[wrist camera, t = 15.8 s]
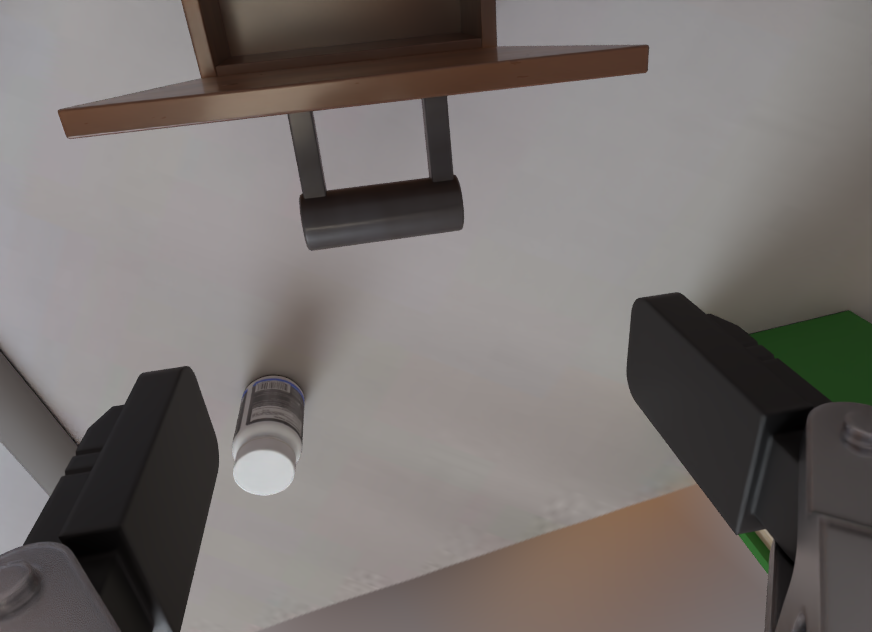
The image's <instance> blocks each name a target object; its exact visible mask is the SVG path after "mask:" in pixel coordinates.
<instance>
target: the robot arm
mask: <svg viewBox="0 0 872 632" xmlns="http://www.w3.org/2000/svg"><path fill="white" fill-rule="evenodd" d="M627 380H628V385H629V389H630V392H631V394H632V396H633V398H634V400H635V402H636V403H637V404H638V406H639V407H640V408H641V410H642V411H643V412H644V414H645V415H646V416H647V418H648V419H649V420H650V422H651V423H652V424H653V426H654V427H655V428H656V430H657V431H658V432H659V433H660V435H661V436H662V437H663V439H664V440H665V441H666V443H667V444H668V445H669V447H670V448H671V449H672V451H673V452H674V453H675V455H676V456H677V457H678V459H679V460H680V461H681V463H682V464H683V465H684V467H685V468H686V469H687V471H688V472H689V473H690V475H691V476H692V477H693V479H694V480H695V481H696V483H697V484H698V485H699V486H700V488H701V489H702V490H703V492H704V493H705V494H706V496H707V497H708V498H709V500H710V501H711V502H712V504H713V505H714V506H715V508H716V509H717V510H718V512H719V513H720V514H721V516H722V517H723V518H724V520H725V521H726V522H727V524H728V525H729V526H730V528H731V529H732V530H733V531H734V533H735V534H736V535H739V534H744V533H749V532H754V531H759V530H764V529H766V530H767V531H768V532H769V534H770V535H771V536H772V537H773V542H772V546H771V550H770V554H769V569H768V586H767V602H766V617H765V632H872V406H871V405H866V404H861V403H855V402H832V401H831V400H830V399H828V398H827V397H826V396H825V395H823V394H822V393H821V392H820V391H818V390H817V389H816V388H815V387H813V386H812V385H811V384H810V383H808V382H807V381H806V380H805V379H803V378H802V377H801V376H800V375H799V374H797V373H796V372H795V371H794V370H792V369H791V368H790V367H789V366H787V365H786V364H785V363H784V362H782V361H781V360H780V359H779V358H776V359H775V358H774V354H772V353H771V352H770V351H769V350H767V349H766V348H765V347H764V346H763V345H758V341H756V340H755V339H754V338H753V337H751V336H750V335H749V334H748V333H746V332H745V331H744V330H743V329H741V328H740V327H739V326H738V325H735V324H733V323H731V322H728V321H726V320H724V319H721V318H719V317H717V316H715V315H712V314H705V313H704V312H703V311H702V310H700V309H699V308H698V307H697V306H696V305H694V304H693V303H692V302H691V301H690V300H688V299H687V298H686V297H685V296H684V295H682V294H681V293H678V292H675V293H669V294H662V295H656V296H649V297H643V298H638V299H636V300H635V302H634V304H633V307H632V312H631V323H630V334H629V346H628V357H627ZM75 452H76V456H73V457H72V459H71V460H70V462H69V464H68V466H67V467H66V469H65V476H61V478H60V480H59V482H58V484H57V485H56V487H55V489H54V491H53V492H52V494H51V496H50V498H49V500H48V501H47V503H46V505H45V507H44V509H43V510H42V512H41V514H40V516H39V517H38V519H37V521H36V523H35V525H34V526H33V528H32V530H31V532H30V534H29V535H28V537H27V539H26V541H25V542H24V544H23V546H21V547H18V548H15V549H13V550H10V551H8V552H6V553H4V554H2V555H0V632H180V630H181V626H182V622H183V617H184V613H185V609H186V605H187V600H188V596H189V592H190V588H191V583H192V579H193V575H194V571H195V566H196V562H197V558H198V554H199V550H200V545H201V541H202V537H203V533H204V528H205V524H206V520H207V516H208V511H209V507H210V503H211V499H212V495H213V490H214V486H215V482H216V478H217V473H218V468H219V450H218V443H217V438H216V435H215V432H214V429H213V426H212V423H211V420H210V417H209V414H208V411H207V408H206V405H205V402H204V399H203V397H202V394H201V391H200V388H199V385H198V382H197V379H196V376H195V374H194V372H193V371H192V369H191V368H190V367H188V366H184V367H177V368H171V369H164V370H158V371H151V372H145V373H142V374H141V375H140V376H139V377H138V379H137V381H136V383H135V385H134V387H133V389H132V391H131V393H130V395H129V397H128V399H127V401H126V403H125V405H120V406H113V407H111V408H110V409H109V410H108V411H107V412H106V413H105V414H104V415H103V416H102V417H100V418H99V419H98V420H97V421H96V422H95V423H94V424H93V425H92V426H91V427H89V428H88V430H87V432H86V434H85V435H84V437H83V439H82V441H81V442H80V444H79V446H78V448H77V450H76V451H75Z"/></svg>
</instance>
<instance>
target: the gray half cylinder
mask: <svg viewBox="0 0 872 632" xmlns="http://www.w3.org/2000/svg"><path fill="white" fill-rule="evenodd" d="M0 442H1V443H2V444H3V445H4V446H5V447H6V448H7V450H8V451H9V452H10V453H11V454H12V455H13V456H14V457H15V458H16V460H17V461H18V462H19V463H20V464H21V465H22V466H23V467H24V468H25V470H26V471H27V472H28V473H29V474H30V475H31V476H32V477H33V478H34V480H35V481H36V482H37V483H38V484H39V485H40V486H41V487H42V488H43V490H44V491H45V492H46V493H47V494H48V495H49V496H51V494H52V492H53V491H54V489H55V487H56V485H57V484H58V482H59V480H60V478H61V476H65V469H66V467H67V466H68V464H69V462H70V460H71V459H72V457H73V456H76V452H75V451H76V450H77V448H78V446H77V445H76V444H75V443H74V441H73V440H72V439H71V438H70V436H69V435H68V434H67V433H66V432H65V430H64V429H63V428H62V427H61V425H60V424H59V423H58V422H57V420H56V419H55V418H54V417H53V416H52V414H51V413H50V412H49V411H48V409H47V408H46V407H45V406H44V404H43V403H42V402H41V401H40V400H39V398H38V397H37V396H36V395H35V393H34V392H33V391H32V390H31V388H30V387H29V386H28V385H27V384H26V382H25V381H24V380H23V379H22V377H21V376H20V375H19V374H18V373H17V371H16V370H15V369H14V368H13V366H12V365H11V364H10V363H9V361H8V360H7V359H6V358H5V357H4V355H3V354H2V353H1V352H0Z"/></svg>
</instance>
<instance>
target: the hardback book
mask: <svg viewBox="0 0 872 632" xmlns="http://www.w3.org/2000/svg"><path fill="white" fill-rule="evenodd" d="M749 335H750V336H751V337H753V338H754V339H755V340H756V341H758V345H763V346H764V347H765V348H766V349H767V350H769V351H770V352H771V353H772V354H774V358H775V359H776V358H779V359H780V360H781V361H782V362H784V363H785V364H786V365H787V366H789V367H790V368H791V369H792V370H794V371H795V372H796V373H797V374H799V375H800V376H801V377H802V378H803V379H805V380H806V381H807V382H808V383H810V384H811V385H812V386H813V387H815V388H816V389H817V390H818V391H820V392H821V393H822V394H823V395H825V396H826V397H827V398H828V399H830V400H831V401H832V402H855V403H861V404H866V405H871V406H872V324H871V323H869V322H868V321H866V320H864V319H863V318H861V317H859V316H858V315H856V314H854V313H853V312H851V311H845V312H840V313H836V314H832V315H828V316H824V317H820V318H815V319H811V320H807V321H803V322H799V323H795V324H790V325H786V326H782V327H778V328H774V329H770V330H765V331H761V332H757V333H753V334H749ZM739 536H740V537H741V539H742V540H743V542H744V543H745V544H746V546H747V547H748V548H749V550H750V551H751V552H752V554H753V555H754V556H755V558H756V559H757V560H758V562H759V563H760V564H761V565H762V567H763V568H764V569H765V571H766V572H767V573H768V569H769V554H770V550H771V546H772V542H773V537H772V536H771V535H770V534H769V532H768V531H767V530H766V529H764V530H759V531H754V532H749V533H744V534H739Z"/></svg>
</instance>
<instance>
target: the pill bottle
mask: <svg viewBox="0 0 872 632" xmlns="http://www.w3.org/2000/svg"><path fill="white" fill-rule="evenodd" d="M303 418H304V395H303V392H302V390H301V389H300V388H299V386H298V385H297V384H296V383H294V382H293V381H291V380H290V379H288V378H285V377H281V376H265V377H262V378H260V379H257V380H255V381H254V382H252V383H251V384H250V385H249V386H248V387H247V388H246V390H245V392H244V394H243V397H242V401H241V405H240V411H239V415H238V420H237V425H236V430H235V434H234V438H233V443H232V453H233V457H234V460H235V462H234V468H233V475H234V479H235V481H236V483H237V484H238V485H239V486H240V487H241V488H242V489H243V490H245V491H247V492H249V493H252V494H255V495H272V494H275V493H278V492H280V491H282V490H284V489H286V488H287V487H288V486H289V485H290V484H291V482H292V480H293V478H294V476H295V469H296V463H297V462H298V460H299V458H300V456H301V453H302V437H303V422H304V420H303Z"/></svg>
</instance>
